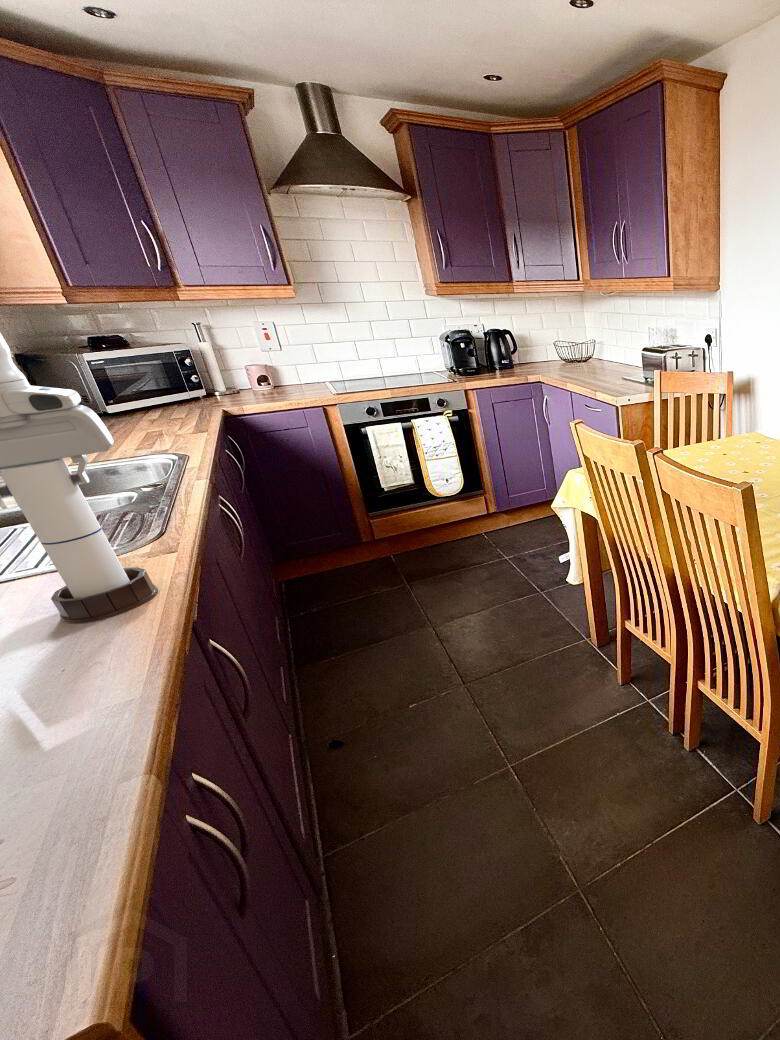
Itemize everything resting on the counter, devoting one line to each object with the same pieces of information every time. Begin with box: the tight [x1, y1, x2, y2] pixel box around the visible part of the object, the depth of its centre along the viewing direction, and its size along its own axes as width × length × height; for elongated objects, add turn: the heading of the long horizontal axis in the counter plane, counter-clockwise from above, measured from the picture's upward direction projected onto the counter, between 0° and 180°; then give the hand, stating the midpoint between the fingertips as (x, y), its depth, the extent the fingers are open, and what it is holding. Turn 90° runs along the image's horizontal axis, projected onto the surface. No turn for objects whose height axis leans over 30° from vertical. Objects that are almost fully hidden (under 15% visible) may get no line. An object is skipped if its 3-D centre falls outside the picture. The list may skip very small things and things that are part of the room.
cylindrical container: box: [0, 458, 130, 598], centre depth 96 cm, size 7×7×25 cm
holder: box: [50, 566, 159, 624], centre depth 101 cm, size 12×12×4 cm
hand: (45, 489), depth 93 cm, fingers open, 7 cm apart
